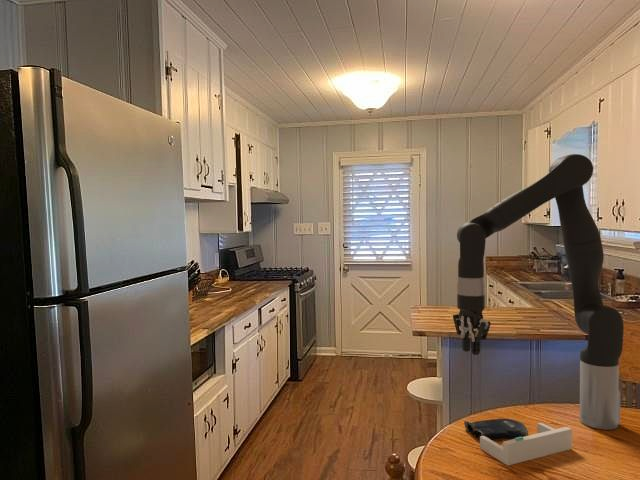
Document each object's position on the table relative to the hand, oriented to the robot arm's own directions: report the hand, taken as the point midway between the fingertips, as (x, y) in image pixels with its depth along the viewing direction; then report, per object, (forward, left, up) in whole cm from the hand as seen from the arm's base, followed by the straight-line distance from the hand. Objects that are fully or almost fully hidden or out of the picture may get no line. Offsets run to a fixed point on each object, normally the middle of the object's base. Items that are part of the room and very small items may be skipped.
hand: (470, 352), depth 136 cm
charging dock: (0, +20, -19) cm, 28 cm away
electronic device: (0, +11, -20) cm, 23 cm away
